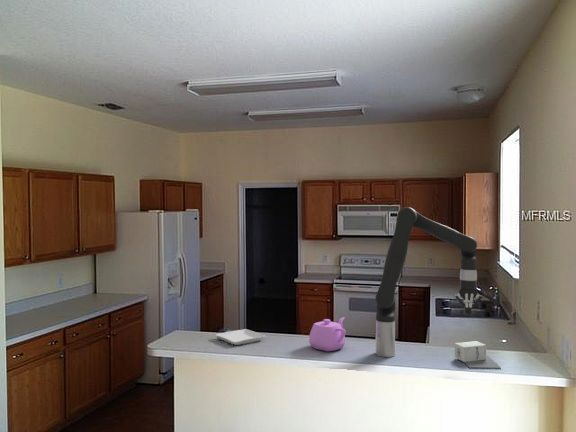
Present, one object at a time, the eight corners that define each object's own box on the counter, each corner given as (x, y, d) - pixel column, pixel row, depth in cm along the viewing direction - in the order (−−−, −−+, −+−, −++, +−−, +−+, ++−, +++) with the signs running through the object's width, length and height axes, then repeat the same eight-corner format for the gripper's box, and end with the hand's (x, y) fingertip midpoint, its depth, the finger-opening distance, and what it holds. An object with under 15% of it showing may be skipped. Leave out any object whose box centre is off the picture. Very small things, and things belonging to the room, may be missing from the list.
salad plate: (245, 333, 288) (245, 328, 288) (266, 341, 271) (266, 335, 271) (214, 340, 275) (214, 333, 275) (234, 348, 258) (234, 342, 258)
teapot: (334, 356, 242) (334, 326, 242) (304, 347, 257) (304, 319, 257) (362, 347, 258) (362, 318, 258) (332, 339, 273) (332, 312, 273)
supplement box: (463, 347, 230) (486, 344, 233) (454, 342, 237) (476, 340, 241) (463, 362, 230) (486, 359, 233) (454, 357, 237) (476, 355, 241)
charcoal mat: (469, 368, 223) (469, 367, 223) (459, 356, 241) (459, 355, 241) (500, 369, 222) (500, 367, 222) (488, 356, 240) (488, 355, 240)
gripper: (456, 279, 229) (455, 316, 229) (485, 280, 228) (484, 317, 228) (452, 277, 236) (451, 312, 237) (480, 277, 235) (479, 313, 235)
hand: (467, 315), depth 232 cm, fingers closed
